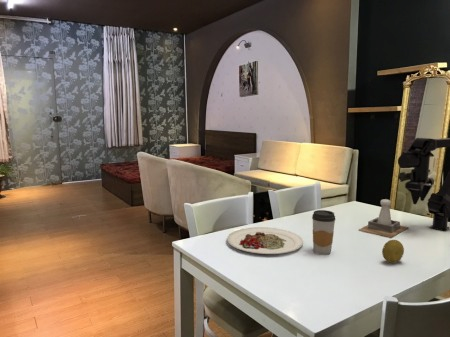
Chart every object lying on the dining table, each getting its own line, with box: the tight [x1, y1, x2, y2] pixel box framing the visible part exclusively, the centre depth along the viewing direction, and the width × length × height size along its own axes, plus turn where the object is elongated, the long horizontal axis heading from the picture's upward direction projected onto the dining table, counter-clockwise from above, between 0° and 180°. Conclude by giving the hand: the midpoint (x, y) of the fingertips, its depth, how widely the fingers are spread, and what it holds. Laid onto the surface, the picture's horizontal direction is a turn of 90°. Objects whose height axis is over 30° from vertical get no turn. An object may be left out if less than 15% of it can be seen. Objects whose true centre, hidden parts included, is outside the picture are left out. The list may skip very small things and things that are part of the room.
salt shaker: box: [377, 198, 392, 226], centre depth 159 cm, size 6×6×13 cm
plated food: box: [226, 226, 304, 255], centre depth 142 cm, size 30×30×3 cm
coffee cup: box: [311, 209, 336, 256], centre depth 132 cm, size 8×8×15 cm
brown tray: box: [358, 216, 409, 239], centre depth 160 cm, size 20×14×4 cm
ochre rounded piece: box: [381, 239, 405, 264], centre depth 123 cm, size 8×4×8 cm, turn 110°
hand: (418, 202), depth 156 cm, fingers open, 9 cm apart
